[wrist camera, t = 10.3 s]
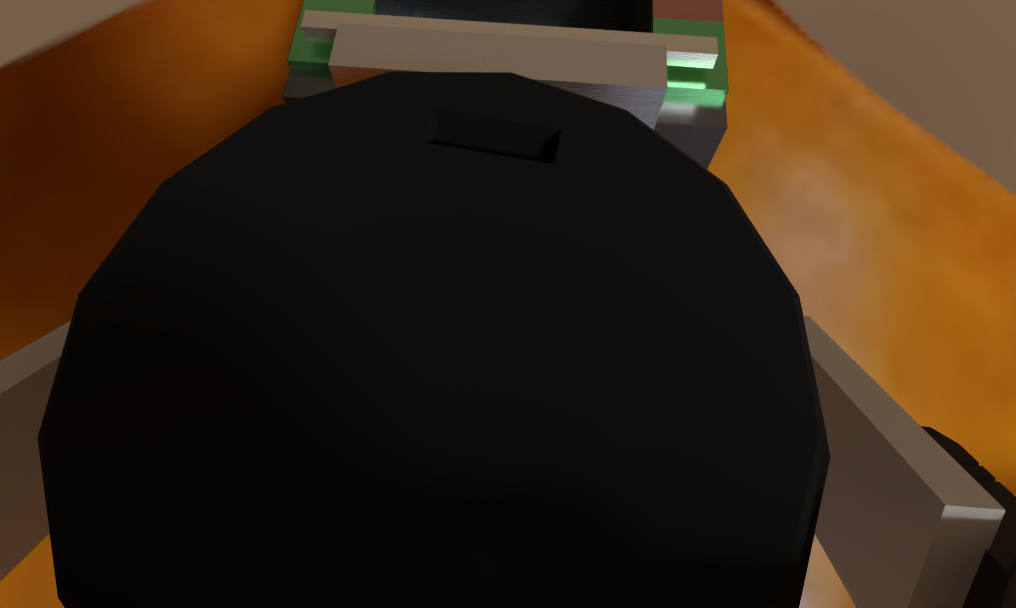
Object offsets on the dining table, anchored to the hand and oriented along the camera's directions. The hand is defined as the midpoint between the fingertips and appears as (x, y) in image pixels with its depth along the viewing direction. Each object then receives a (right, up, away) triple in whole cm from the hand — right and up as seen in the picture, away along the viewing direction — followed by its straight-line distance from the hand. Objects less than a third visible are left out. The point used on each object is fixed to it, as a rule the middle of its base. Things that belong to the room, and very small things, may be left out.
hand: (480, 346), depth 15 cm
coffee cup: (0, -5, +5) cm, 7 cm away
